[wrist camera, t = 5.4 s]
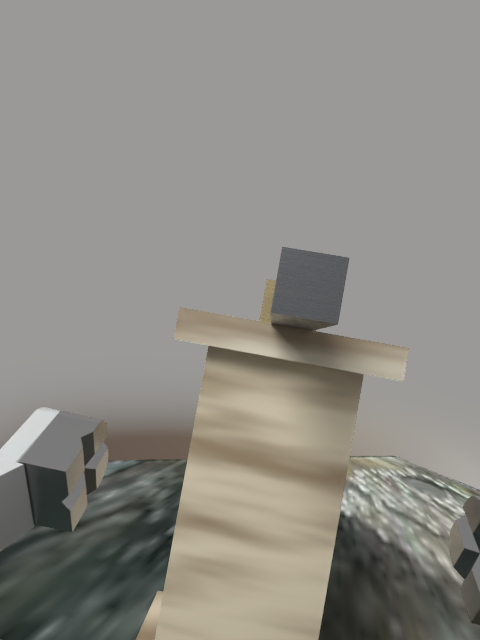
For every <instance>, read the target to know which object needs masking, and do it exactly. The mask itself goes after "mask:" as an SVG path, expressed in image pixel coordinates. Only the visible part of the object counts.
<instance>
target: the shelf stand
mask: <svg viewBox="0 0 480 640" xmlns="http://www.w3.org/2000/svg"><path fill="white" fill-rule="evenodd" d="M174 339H177V340H182V341H188V342H193V343H198V344H204V345H209V347H208V352H207V358H206V363H205V369H204V374H203V379H202V385H201V390H200V396H199V401H198V407H197V412H196V417H195V423H194V428H193V434H192V439H191V445H190V450H189V456H188V461H187V466H186V472H185V477H184V483H183V488H182V493H181V499H180V504H179V510H178V515H177V521H176V526H175V532H174V537H173V542H172V548H171V553H170V559H169V564H168V570H167V575H166V581H165V586H164V591H163V592H161V591H158V592H157V594H156V596H155V599H154V601H153V603H152V605H151V607H150V610H149V612H148V614H147V616H146V618H145V621H144V623H143V625H142V627H141V630H140V632H139V634H138V636H137V638H136V640H318V639H319V633H320V627H321V621H322V615H323V610H324V604H325V598H326V592H327V586H328V580H329V574H330V568H331V563H332V557H333V551H334V545H335V539H336V533H337V527H338V522H339V516H340V510H341V504H342V498H343V492H344V486H345V481H346V475H347V469H348V463H349V457H350V451H351V445H352V439H353V433H354V428H355V422H356V415H357V410H358V404H359V399H360V393H361V386H362V381H363V375H364V374H366V375H371V376H377V377H382V378H388V379H393V380H398V381H404V375H405V369H406V363H407V357H408V351H409V348H406V347H400V346H395V345H389V344H384V343H378V342H372V341H367V340H361V339H355V338H349V337H344V336H339V335H333V334H328V333H322V332H316V331H311V330H305V329H299V328H294V327H288V326H283V325H277V324H271V323H266V322H260V321H254V320H249V319H243V318H238V317H232V316H226V315H221V314H215V313H210V312H204V311H199V310H193V309H187V308H182V307H180V308H179V313H178V319H177V324H176V330H175V335H174Z"/></svg>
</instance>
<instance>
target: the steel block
mask: <svg viewBox="0 0 480 640" xmlns="http://www.w3.org/2000/svg"><path fill="white" fill-rule="evenodd" d="M348 263H349V258H347V257H341V256H334V255H329V254H323V253H316V252H310V251H304V250H298V249H291V248H286V247H282V253H281V258H280V263H279V269H278V274H277V280H276V281H274V280H268V279H267V282H266V288H265V293H264V300H263V304H262V310H261V315H260V322H266V323H271V324H277V325H283V326H288V327H294V328H299V329H305V330H311V331H316V330H317V329H321V328H325V327H329V326H334V325H337V324H338V321H339V315H340V309H341V303H342V297H343V292H344V285H345V280H346V274H347V268H348Z"/></svg>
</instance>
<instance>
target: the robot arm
mask: <svg viewBox="0 0 480 640" xmlns="http://www.w3.org/2000/svg"><path fill="white" fill-rule="evenodd" d="M106 435H107V423H106V422H105V421H103V420H99V419H95V418H91V417H86V416H82V415H78V414H73V413H69V412H65V411H63V412H62V411H58V410H54V409H50V408H46V407H42V408H40V409H38V410H36V411H35V412H34V413H33V414H32V415H31V416H30V417H29V418H28V420H27V421H26V422H25V423H24V424H23V425H22V426H21V427H20V428H19V429H18V431H17V432H16V433H15V434H14V435H13V436H12V437H11V438H10V439H9V440H8V441H7V443H6V444H5V445H4V446H3V447H2V448H1V449H0V551H2V550H3V549H4V548H6V547H7V546H8V545H10V544H11V543H13V542H14V541H15V540H17V539H18V538H20V537H21V536H22V535H24V534H25V533H26V532H28V531H29V530H31V529H32V528H33V527H34V524H35V525H40V526H45V527H50V528H55V529H60V530H65V531H70V532H73V530H74V528H75V526H76V525H77V523H78V521H79V519H80V518H81V516H82V514H83V512H84V511H85V509H86V507H87V495H88V494H89V493H91V492H93V491H94V490H96V489H97V488H98V486H99V484H100V482H101V480H102V478H103V475H104V472H105V469H106V467H107V461H108V448H107V446H106V445H105V444H104V442H103V440H104V438H105V437H106ZM463 509H464V511H465V514H466V516H464V517H462V518H460V519H458V520H456V521H455V523H454V525H453V527H452V529H451V531H450V538H449V550H450V556H451V560H452V563H453V567H454V568H455V569H456V570H457V571H458V573H459V574H460V575H461V576H462V577H463V578H464V581H463V583H462V585H461V587H460V590H461V593H462V597H463V600H464V603H465V606H466V609H467V613H468V616H469V619H470V622H471V623H474V624H478V625H480V497H478V496H471V497H470V498H468V499H467V501H466V502H465V504H464V506H463Z"/></svg>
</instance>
